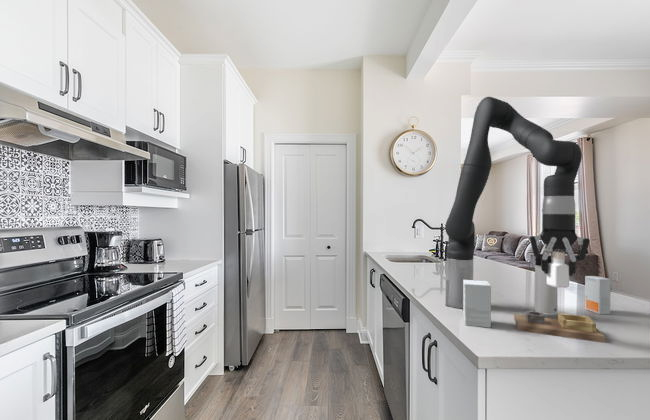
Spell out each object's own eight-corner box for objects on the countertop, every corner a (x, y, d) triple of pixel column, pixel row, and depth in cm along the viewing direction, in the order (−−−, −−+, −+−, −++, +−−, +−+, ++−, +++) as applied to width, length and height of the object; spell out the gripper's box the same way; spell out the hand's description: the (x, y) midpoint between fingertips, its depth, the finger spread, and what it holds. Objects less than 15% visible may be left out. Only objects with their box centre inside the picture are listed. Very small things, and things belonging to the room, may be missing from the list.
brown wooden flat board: (517, 330, 97) (517, 316, 97) (514, 318, 108) (514, 306, 108) (604, 342, 88) (604, 327, 88) (591, 328, 99) (591, 315, 99)
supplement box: (487, 320, 106) (488, 280, 106) (491, 328, 99) (491, 285, 99) (462, 318, 108) (462, 278, 108) (464, 325, 101) (464, 283, 101)
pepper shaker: (570, 288, 91) (570, 252, 91) (556, 288, 90) (556, 252, 90) (559, 284, 95) (559, 251, 95) (545, 284, 94) (545, 251, 94)
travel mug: (562, 319, 108) (562, 257, 108) (539, 317, 109) (539, 256, 109) (553, 313, 114) (553, 254, 114) (531, 312, 115) (532, 254, 116)
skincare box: (584, 309, 120) (584, 275, 120) (595, 309, 120) (595, 275, 120) (599, 314, 114) (599, 279, 114) (611, 314, 114) (611, 279, 114)
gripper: (529, 212, 93) (528, 273, 92) (594, 213, 86) (594, 279, 86) (527, 212, 99) (526, 270, 99) (587, 213, 93) (587, 274, 93)
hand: (557, 273), depth 93 cm, fingers closed on pepper shaker, 5 cm apart
